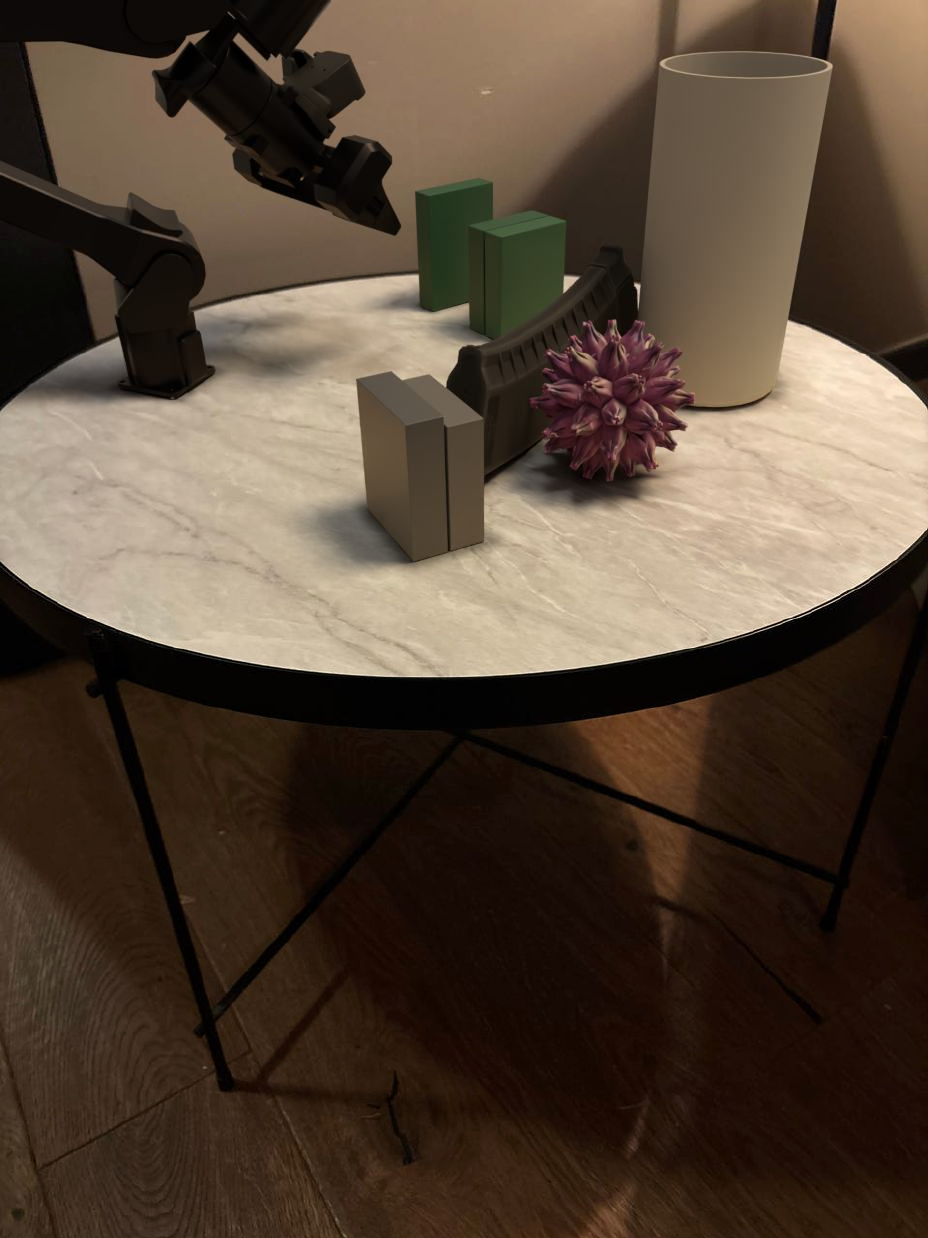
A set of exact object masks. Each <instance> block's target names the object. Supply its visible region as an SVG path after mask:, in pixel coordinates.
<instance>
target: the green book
mask: <svg viewBox="0 0 928 1238" xmlns="http://www.w3.org/2000/svg"><path fill="white" fill-rule="evenodd" d="M414 201H415V202H414V203H415V221H416V222H415V223H416V225H415V227H416V247H417V248H416V249H417V268H418V271H417V273H418V290H419V291H418V293H419V306H420V307H422V308H424V309H427V310H429V311H431V312H437V311H440V310H444V309H447V308H451V307H454V306H458V305H462V304H465V303H469V258H468V225H472V224H476V223H480V222H485V221H489V220H493V219H494V182H493V181H491V180H487V179H485V178H481V177H475V178H471V179H467V180H461V181H457V182H451V183H447V184H443V185H438V186H433V187H428V188H423V189H419V190H415V191H414Z"/></svg>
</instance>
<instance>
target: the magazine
mask: <svg viewBox="0 0 928 1238" xmlns="http://www.w3.org/2000/svg"><path fill="white" fill-rule="evenodd" d="M632 271H633V270H632V269H631V268H630V266H628V264H627V263H626V259H625V255H624V248H623V247H622V245H620V244H614V243H608V242H604V243H603V244H602V245H601V247H600V248H599V252H598V255H597V257H596V258H595V259H593V260H592V261H591V262H590V263H589V264H588V265H587V268H586V270H585V271H584V272H582V274H581V275H580V276H579V277H578V278H577V279H576V280H575V281H574V282H573V284H572V285H570V287H568V288H567V289H566V290H565V291H563V294H562V295H561V296H560V297H559V298H557V299H556V300H555V301H554V302H553V303H552V304H550V305H549V306H548V307H547V308H546V309H544V310H543V311H541V312H540V313H539V314H537V315H536V316H534V317H533V318H531V319H530V320H528V321H526V322H525V323H523V324H521V325H520V326H518V327H516V328H514V329H513V330H511V331H510V332H508V333H507V334H505V335H503V336H501V337H499V338H497V339H495V340H494V339H492V340H490V341H487V342H485V343H482V344H478V345H474V344H466V345H464V346H462V347H460V348H459V350H458V353H457V354H458V355H457V361H456V364H455V366H454V367H453V368H452V370H451V371H450V373H449V374H448V376H447V380H446V382H445V383H446V385H445V387H446V388H447V389H448V390H449V391H451V392H452V393H453V394H454V395H455V396H457V397H458V398H459V399H460V400H462V401H463V402H464V403H465V404H466V405H468V406H469V407H470V408H471V409H473V410H474V411H475V412H476V413H477V414H479V415H480V416H481V417H482V418H483V425H484V477H485V476H487V475H488V474H490V473H491V472H492V471H494V470H496V469H498V468H499V467H501V466H503V465H505V464H506V463H508V462H509V461H511V460H512V459H514V458H515V457H517V456H519V455H520V454H522V453H523V452H525V451H526V450H528V449H529V448H530V447H532V446H533V445H534V444H537V442H538V441H540V440H542V438H544V437H543V433H542V431H544V430H545V429H547V428H548V427H549V426H550V425H551V423H552V421H553V419H554V418H546V416H545V412H543V411H542V410H540V409H537V408H531V407H530V406H531V404H530V403H531V402H530V401H529V399H530V398H535V397H539V396H541V395H542V394H544V392H542V391H543V389H542V387H543V386H544V384H552V383H551V382H550V381H549V379H547V378H546V377H544V376H542V371H543V370H544V368H547V369H550V370H553V368H552V366H551V363H550V362H549V361H548V360H547V359H546V358H545V357H544V355H543V354H544V353H546V351H547V350H548V349H550V350H552V351H554V352H555V353H559V354H565V351H566V348H568V347H570V343H569V341H568V339H570V337H571V336H574V335H575V336H576V337H577V338H578V340H579V341H581V342H582V341H583V335H584V331H583V322H587V323H588V321H591V322H592V324H593V327H594V329H595V330H596V331H597V332H598V333H600V334H601V335H602V336H604V334H605V332H606V330H607V327H608V321H611V320H614V319H615V320H616V326H617V331H618V333H619V335H620V336H621V338H622V337H623V336H624V335H625V334H626V333H627V332H628V331H629V330H630V329H631V328H632V326H633V324H634V322H635V320H637V319H638V307H639V296H638V295H639V294H638V289H637V286H635V281H634V276H633V274H632Z"/></svg>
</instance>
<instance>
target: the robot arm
mask: <svg viewBox="0 0 928 1238" xmlns="http://www.w3.org/2000/svg"><path fill="white" fill-rule="evenodd" d="M331 3H332V0H0V43H3V44H4V43H51V42H52V43H54V42H55V43H56V42H59V43H60V42H61V43H68V44H74V45H80V46H84V47H88V48H91V49H97V50H101V51H104V52H110V53H115V54H122V55H126V56H133V57H138V58H139V57H140V58H145V59H153V60H154V59H155V60H159V59H163V58H167V57H168V58H169V57H170V56H171V55H173V54H175V53H177V51H179V49H180V48H181V46H182V45H183V44H184V42H185V41H186V38H187V37H189V36H192V35H193V36H194V35H196V34H200V33H204V32H205V35H204V36H202V37H201V38H200V39H199V40H198V41H197V42H195V43H193V42H192V41H191V40H189V41H188V42H187V43H186V44H185V46H184V47H183V48H182V50H181V51H180V53H179V54H178V55H177V56H176V58H175V60H174V61H173V62H172V63H171V65H169V66H168V67H166V68H164V69H153V70H152V71H151V77H152V79H153V81H154V99H155V101H156V103H157V105H159V107H160V108H161V109H162V111H163V112H164V113H165V114H166V116H167V117H169V118H171V119H172V118H175V117H176V116H177V115H178V114H179V112H180V111H181V110H182V109H183V107H184V106H185V105H186V104H187V102H189V103H190V104H191V105H193V106H194V108H196V109H197V110H198V111H199V112H200V113H201V114H203V116H205V117H206V118H207V119H208V120H209V121H211V122H212V123H213V124H214V125H215V126H216V127H217V128H218V129H220V130H221V132H223V133H224V134H225V136H224V138H223V140H224V141H225V142H227V144H229V145H230V146H231V147H232V148H234V150H233V152H232V154H231V156H232V163H233V169H234V170H235V171H236V172H237V173H238V174H239V175H240V176H241V177H243V178H244V179H245V180H246V181H247V182H248V183H251V184H254V185H256V186H258V187H260V188H262V189H263V190H267V191H269V192H271V193H274V194H277V195H280V196H282V197H286V198H289V199H291V200H294V201H298V202H300V203H301V202H302V203H304V204H306V205H309V206H312V207H315V208H319V209H321V210H324V211H327V212H330V213H331V215H332V216H334V217H336V218H339V219H340V220H344V221H347V222H349V223H353V224H355V225H359V226H362V227H366V228H369V229H372V230H376V231H378V232H381V233H384V234H386V235H387V234H388V235H390V236H393V237H396V236H397V235H398V233H399V232H400V230H401V229H402V224H401V222H400V219H399V218H398V215H397V214H396V212H395V209H394V208H393V205H392V203H391V202H390V199H389V197H388V195H387V192H386V189H385V187H384V185H383V179H384V178H385V176H386V174H387V173H388V171H389V170H390V168H391V166H392V165H393V155H391V153H390V152H389V151H388V150H387V149H386V147H384V146H383V145H382V144H381V143H380V142H379V141H377V140H374V139H371V138H367V137H364V136H361V135H357V134H353V135H347V136H342V137H341V138H340V140H339V141H338V143H337V145H336V146H331V145H328V144H325V143H324V142H325V141H326V140H329V139H330V138H331V136H332V135H333V133H334V131H335V130H336V128H337V126H336V125H335V124H334V123H333V121H332V120H331V119H333V118H335V117H336V116H338V114H340V113H341V112H342V111H344V110H345V109H346V108H347V107H349V106H350V105H351V104H353V102H355V101H357V102H358V101H360V100H362V98H363V97H364V96H365V95H366V91H367V90H366V89H365V87H364V84H363V82H362V79H361V77H360V75H359V73H358V70H357V68H356V66H355V63H354V61H353V59H352V57H351V55H350V54H349V53H344V52H337V51H333V50H325V51H322V52H320V51H315V52H314V53H313V56H312V55H311V54H309V52H307V51H305V50H304V49H300V48H297V46H298V45H299V44H300V42H301V41H302V40H303V39H304V37H305V36H306V35H307V33H308V32H309V31H310V30H311V28H312V27H313V26H314V25H315V23H316V22H317V21H318V19H319V18H320V17H321V15H322V14H323V13H324V12H325V10H326V9H327V8H328V7H329V5H330V4H331ZM238 34H239V36H241V37H242V39H244V40H245V42H247V43H248V44H249V45H250V47H252V48H253V50H255V51H256V52H257V53H258V54H259V56H260V57H262V58H263V59H264V60H265V61H266V62H268V61H269V60H270V59H271V57H272V56H273V57H274V58H275V59H277V58H278V57H279V55H280V57H281V69H282V78H281V80H282V82H283V83H282V84H281V83H277V82H275V80H273V78H272V77H271V76H270V75H269V74H268V73H267V72H266V71H264V69H262V67H261V66H259V64H258V63H256V61H254V59H252V57H251V56H250V55H249V54H248V53H246V51H245V50H244V49H243V48H242V47H240V45H238V44H237V42H236V41H234V39H235V38H236V37H237V35H238ZM0 221H2V222H4V223H6V224H9V225H12V226H14V227H16V228H19V229H21V230H23V231H26V232H28V233H31V234H33V235H36V236H38V237H41V238H43V239H46V240H48V241H50V242H53V243H55V244H58V245H60V246H63V247H64V248H67V249H69V250H72V251H74V252H76V253H80V254H81V255H84V256H86V257H88V258H89V259H91V260H92V261H94V262H95V263H96V264H98V265H99V266H100V267H101V268H103V269H104V270H106V271H107V272H108V273H109V274H111V276H114V278H113V280H112V285H113V292H114V300H115V306H116V312H117V313H116V314H114V315H113V316H114V322H115V325H116V330H117V334H118V339H119V342H120V343H119V344H120V347H121V351H122V355H123V356H122V357H123V360H124V365H125V369H126V373H127V375H126V376H124V377H122V378H121V379H119V380H117V382H116V385H117V388H119V389H124V390H128V391H134V392H138V393H139V392H140V393H145V394H150V395H156V396H161V397H166V398H178V397H179V396H181V395H183V394H184V393H186V392H187V391H189V390H191V389H192V388H193V387H195V386H196V385H198V384H199V383H201V382H202V381H204V380H205V379H207V378H209V377H211V376H212V375H213V374H215V373H216V366H215V365H212V364H207V359H206V353H205V348H204V343H203V336H202V332H201V330H200V329H198V327H197V322H196V318H195V312H194V311H193V310H189V307H190V303H191V301H192V300H193V299H194V298H196V297H197V296H198V295H199V294H200V292H201V291H202V289H203V287H204V285H205V281H206V277H207V272H206V271H207V270H206V263H205V261H204V258H203V256H202V254H201V251H200V247H199V245H198V243H197V241H196V239H195V236H194V234H193V233H192V231H191V230H190V229H189V228H188V227H187V226H186V225H185V224H184V223H182V222H181V221H180V220H179V217H178V214H177V211H176V210H175V209H165V208H161V207H159V206H158V207H157V206H155V205H153V204H151V202H149V201H147V200H145V199H144V198H142V197H141V196H139V195H137V194H135V193H133V192H132V191H130V192H129V193H128V194H127V201H126V207H124V206H117V205H108V204H102V203H98V202H96V201H93V200H91V199H89V198H88V197H87V198H86V197H84V196H82V195H80V194H77V193H75V192H73V191H70V190H68V189H66V188H63V187H61V186H59V185H57V184H55V183H52V182H50V181H47V180H45V179H44V178H41V177H38V176H36V175H35V174H32V173H29V172H26V171H25V170H22V169H21V168H18V167H15V166H13V165H11V164H8V163H6V162H5V161H2V160H0Z"/></svg>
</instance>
